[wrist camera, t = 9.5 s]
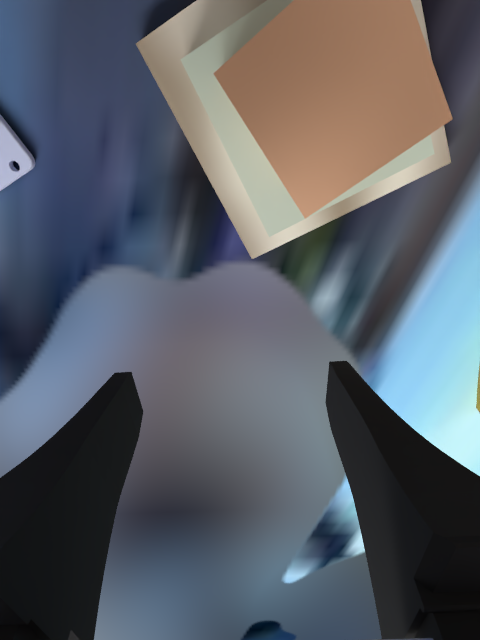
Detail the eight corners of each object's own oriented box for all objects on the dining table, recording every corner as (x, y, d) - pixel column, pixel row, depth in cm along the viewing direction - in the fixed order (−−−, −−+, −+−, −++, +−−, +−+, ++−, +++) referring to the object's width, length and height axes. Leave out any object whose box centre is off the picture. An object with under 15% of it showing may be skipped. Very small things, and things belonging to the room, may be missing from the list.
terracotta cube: (288, 185, 16) (305, 218, 12) (221, 78, 14) (213, 73, 10) (392, 111, 15) (452, 119, 10) (334, -23, 13) (381, -81, 8)
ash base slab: (251, 246, 22) (252, 259, 20) (145, 48, 17) (135, 43, 15) (432, 156, 19) (451, 162, 18) (375, -114, 14) (394, -141, 12)
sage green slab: (266, 224, 19) (269, 236, 18) (186, 63, 15) (180, 59, 14) (415, 147, 17) (434, 153, 16) (365, -59, 13) (384, -81, 12)
